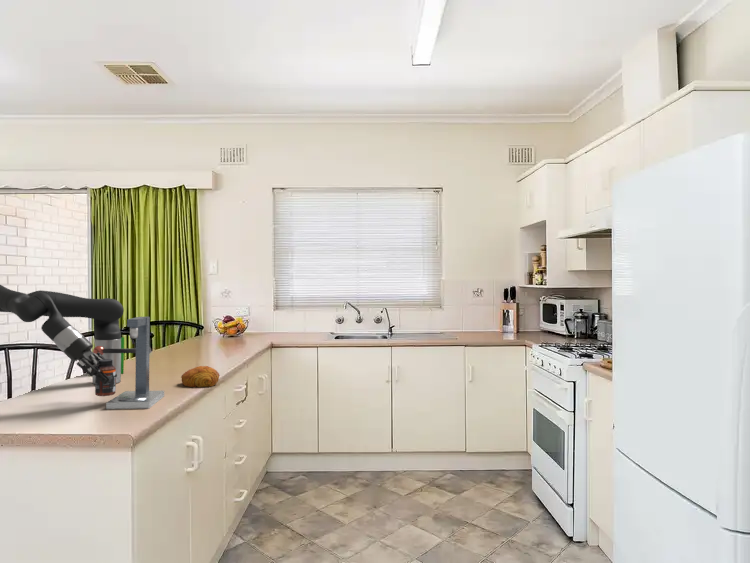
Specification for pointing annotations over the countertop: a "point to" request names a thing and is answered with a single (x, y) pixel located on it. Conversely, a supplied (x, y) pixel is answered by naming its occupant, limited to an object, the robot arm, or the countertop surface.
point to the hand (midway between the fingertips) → (111, 379)
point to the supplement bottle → (110, 386)
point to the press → (138, 371)
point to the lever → (114, 350)
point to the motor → (122, 355)
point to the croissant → (200, 377)
